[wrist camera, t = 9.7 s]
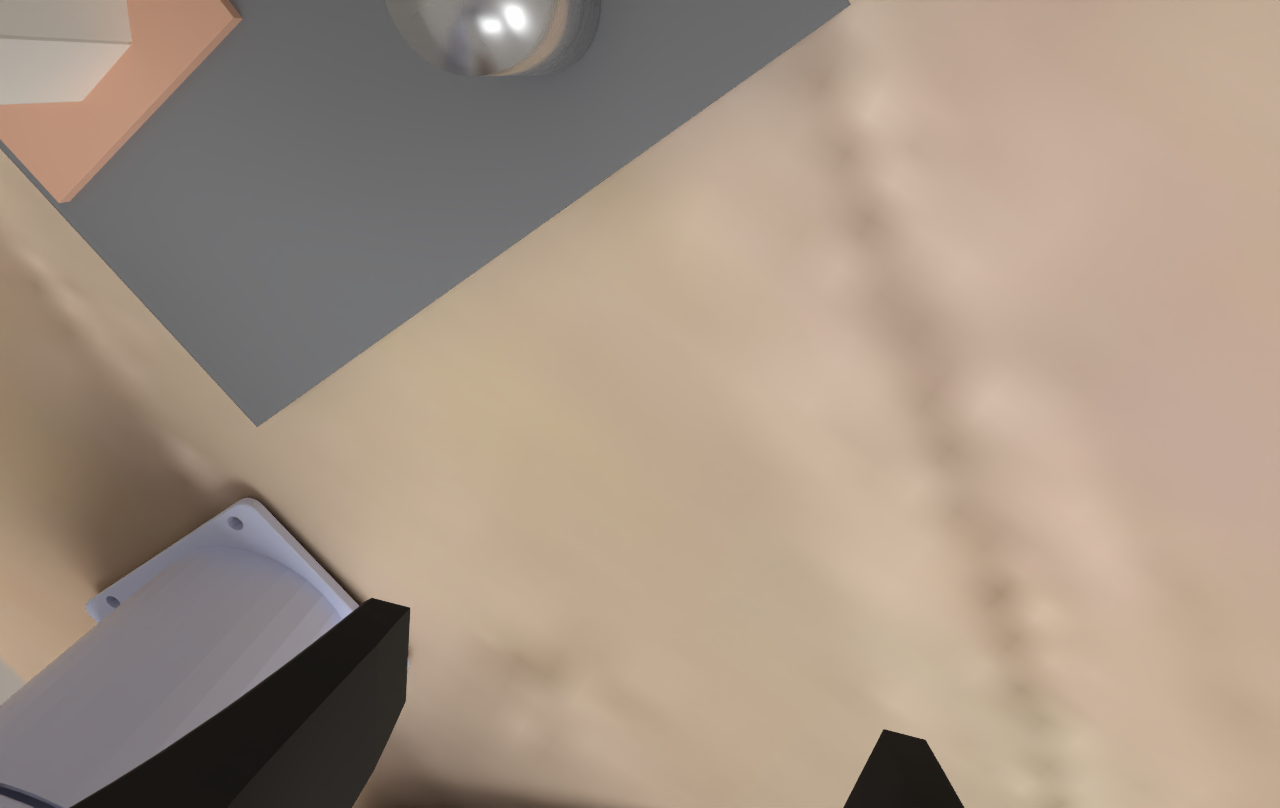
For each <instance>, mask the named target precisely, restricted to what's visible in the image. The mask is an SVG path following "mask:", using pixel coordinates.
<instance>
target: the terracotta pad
mask: <svg viewBox="0 0 1280 808" xmlns="http://www.w3.org/2000/svg"><path fill="white" fill-rule="evenodd" d="M127 8H128V16H129V23H130V31H131V38H132V42H129V43H130V44H131V46H130V47H129V48H128V49H127V50H126V52H125V53H124V54H123V55H122V56H121V57H120V58H119V60H118V61H117V62H116V63H115V64H114V65H113V66H112V68H111V69H110V70H109V71H108V72H107V73H106V74H105V76H104V77H103V78H102V79H101V80H100V81H99V82H98V84H97V85H96V86H95V87H94V88H93V89H92V90H91V92H90V93H89V94H88V95H87V96H86V97H85V99H84V100H83V101H80V102H57V103H32V104H7V105H0V139H1V141H2V142H3V143H4V144H5V145H6V146H7V147H8V148H9V149H10V150H11V151H12V153H13V154H14V155H15V156H16V157H17V158H18V159H19V160H20V161H21V162H22V163H23V165H24V166H25V167H26V168H27V169H28V170H29V171H30V172H31V173H32V174H33V175H34V177H35V178H36V179H37V180H38V181H39V182H40V183H41V184H42V185H43V186H44V187H45V189H46V190H47V191H48V192H49V193H50V194H51V195H52V196H53V197H54V198H55V199H56V201H57V202H58V203H64V202H69V201H71V200H72V199H73V198H74V197H75V195H76V194H77V193H78V192H79V191H80V190H81V189H82V188H83V187H84V186H85V185H86V184H87V183H88V182H89V181H90V180H91V179H92V178H93V176H94V175H95V174H96V173H97V172H98V171H99V170H100V169H101V168H102V167H103V166H104V165H105V164H106V163H107V162H108V161H109V160H110V159H111V157H112V156H113V155H114V154H115V153H116V152H117V151H118V150H119V149H120V148H121V147H122V146H123V145H124V144H125V143H126V142H127V141H128V140H129V139H130V137H131V136H132V135H133V134H134V133H135V132H136V131H137V130H138V129H139V128H140V127H141V126H142V125H143V124H144V123H145V122H146V121H147V120H148V118H149V117H150V116H151V115H152V114H153V113H154V112H155V111H156V110H157V109H158V108H159V107H160V106H161V105H162V104H163V103H164V102H165V101H166V99H167V98H168V97H169V96H170V95H171V94H172V93H173V92H174V91H175V90H176V89H177V88H178V87H179V86H180V85H181V84H182V83H183V82H184V80H185V79H186V78H187V77H188V76H189V75H190V74H191V73H192V72H193V71H194V70H195V69H196V68H197V67H198V66H199V65H200V64H201V63H202V62H203V60H204V59H205V58H206V57H207V56H208V55H209V54H210V53H211V52H212V51H213V50H214V49H215V48H216V47H217V46H218V45H219V44H220V43H221V41H222V40H223V39H224V38H225V37H226V36H227V35H228V34H229V33H230V32H231V31H232V30H233V29H234V28H235V27H236V26H237V25H238V24H239V22H240V21H241V20H242V19H243V18H242V17H241V15H240V14H239V13H238V12H237V10H236V9H235V8H234V6H233V5H232V4H231V2H230V1H229V0H127Z"/></svg>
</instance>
